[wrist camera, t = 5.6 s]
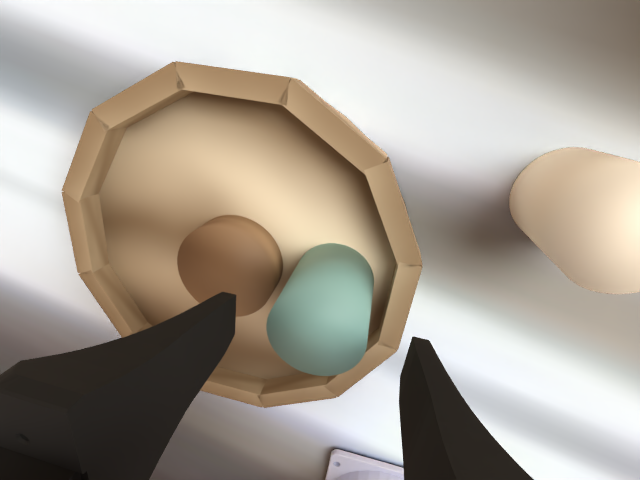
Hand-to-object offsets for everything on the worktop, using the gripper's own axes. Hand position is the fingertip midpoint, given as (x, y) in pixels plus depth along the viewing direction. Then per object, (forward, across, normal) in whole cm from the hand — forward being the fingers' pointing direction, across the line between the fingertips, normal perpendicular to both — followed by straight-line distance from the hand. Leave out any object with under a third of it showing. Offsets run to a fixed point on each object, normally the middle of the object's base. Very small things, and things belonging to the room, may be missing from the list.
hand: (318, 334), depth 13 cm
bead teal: (+4, 0, 0) cm, 4 cm away
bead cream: (+5, -9, -6) cm, 12 cm away
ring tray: (+5, +5, 0) cm, 7 cm away
